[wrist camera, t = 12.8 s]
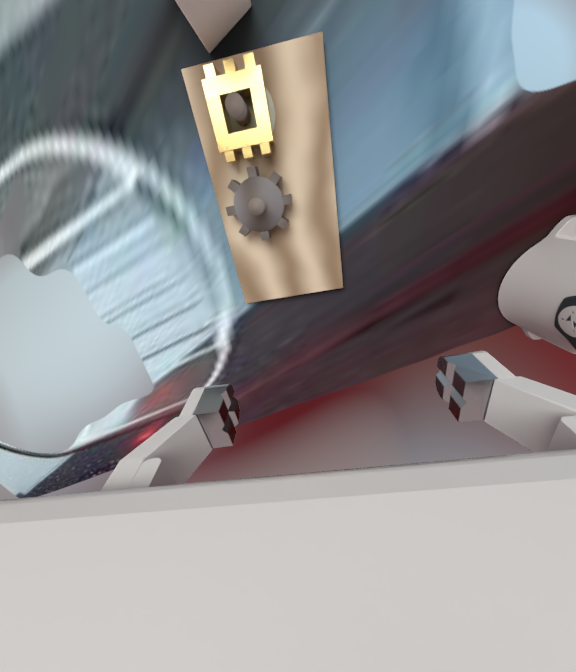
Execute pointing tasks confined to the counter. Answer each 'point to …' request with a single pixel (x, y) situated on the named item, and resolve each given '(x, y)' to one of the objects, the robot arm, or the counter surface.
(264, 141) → the toothed rectangular frame
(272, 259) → the gear board
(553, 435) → the robot arm
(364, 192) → the counter surface
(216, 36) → the milk
